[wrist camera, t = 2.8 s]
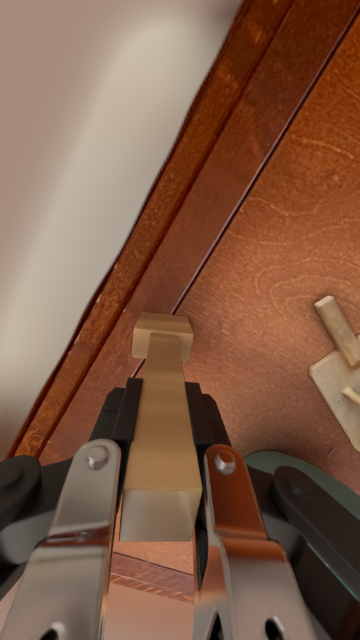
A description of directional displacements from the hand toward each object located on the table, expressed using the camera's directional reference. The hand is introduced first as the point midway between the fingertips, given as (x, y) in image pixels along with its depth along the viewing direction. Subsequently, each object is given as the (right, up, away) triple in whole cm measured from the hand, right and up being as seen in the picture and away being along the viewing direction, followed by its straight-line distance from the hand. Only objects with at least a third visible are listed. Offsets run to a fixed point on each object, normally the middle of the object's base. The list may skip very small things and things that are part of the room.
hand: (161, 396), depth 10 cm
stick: (-1, +3, +11) cm, 11 cm away
